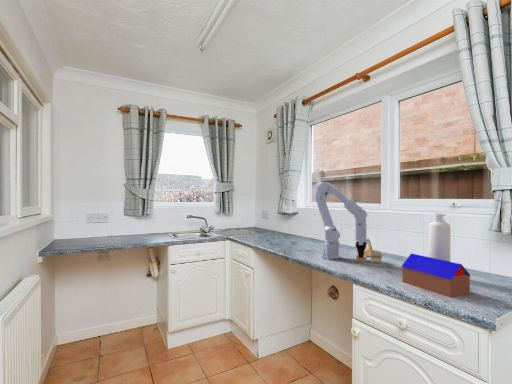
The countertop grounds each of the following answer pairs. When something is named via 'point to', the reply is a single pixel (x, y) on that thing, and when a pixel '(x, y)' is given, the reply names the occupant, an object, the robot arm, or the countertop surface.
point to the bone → (368, 249)
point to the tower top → (375, 254)
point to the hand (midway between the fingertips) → (360, 256)
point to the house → (436, 275)
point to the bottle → (439, 238)
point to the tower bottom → (376, 260)
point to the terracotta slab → (361, 259)
